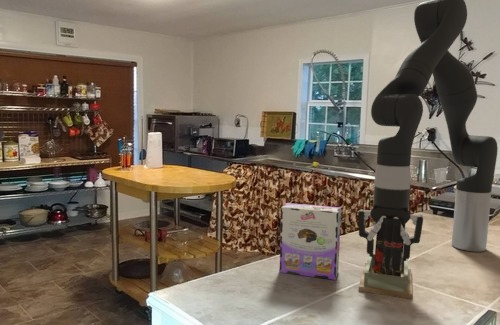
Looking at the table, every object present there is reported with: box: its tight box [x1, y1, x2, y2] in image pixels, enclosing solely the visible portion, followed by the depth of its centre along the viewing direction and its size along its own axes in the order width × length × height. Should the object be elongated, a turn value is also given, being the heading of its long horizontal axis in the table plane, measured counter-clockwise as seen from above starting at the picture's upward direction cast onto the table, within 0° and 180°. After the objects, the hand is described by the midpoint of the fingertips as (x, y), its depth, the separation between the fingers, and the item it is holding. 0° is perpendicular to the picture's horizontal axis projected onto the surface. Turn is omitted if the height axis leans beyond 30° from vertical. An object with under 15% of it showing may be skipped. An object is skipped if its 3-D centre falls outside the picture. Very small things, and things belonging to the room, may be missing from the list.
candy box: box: [278, 202, 342, 280], centre depth 104 cm, size 14×6×16 cm, turn 71°
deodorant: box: [373, 216, 406, 277], centre depth 97 cm, size 6×6×15 cm
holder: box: [358, 252, 413, 300], centre depth 100 cm, size 16×11×4 cm
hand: (387, 257), depth 97 cm, fingers open, 6 cm apart
